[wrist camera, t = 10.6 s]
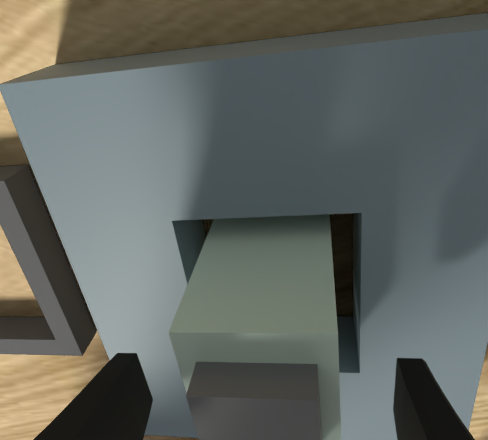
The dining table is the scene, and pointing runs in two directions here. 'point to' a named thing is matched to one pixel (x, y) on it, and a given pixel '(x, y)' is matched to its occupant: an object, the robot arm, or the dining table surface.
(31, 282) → the grey rectangular frame
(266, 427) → the plug
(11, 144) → the dining table surface
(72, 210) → the port block
